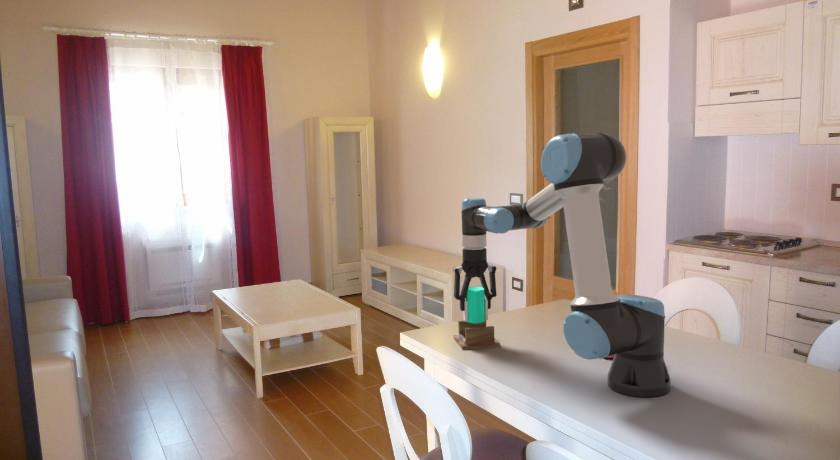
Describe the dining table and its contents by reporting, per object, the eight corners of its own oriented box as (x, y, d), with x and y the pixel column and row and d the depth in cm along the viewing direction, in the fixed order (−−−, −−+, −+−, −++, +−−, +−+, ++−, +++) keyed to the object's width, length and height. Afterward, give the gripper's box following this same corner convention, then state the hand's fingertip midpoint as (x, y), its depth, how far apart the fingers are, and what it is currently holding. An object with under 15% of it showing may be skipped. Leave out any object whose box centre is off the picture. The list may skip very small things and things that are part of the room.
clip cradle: (500, 346, 192) (499, 327, 192) (462, 349, 190) (462, 330, 190) (489, 335, 204) (488, 317, 203) (453, 338, 202) (453, 320, 201)
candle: (463, 322, 195) (462, 284, 194) (470, 317, 200) (469, 281, 199) (480, 324, 192) (480, 286, 191) (487, 319, 198) (487, 282, 196)
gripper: (499, 244, 199) (500, 314, 202) (442, 247, 195) (443, 318, 198) (507, 247, 191) (507, 320, 194) (447, 251, 188) (449, 325, 191)
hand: (475, 319), depth 196 cm, fingers closed on candle, 6 cm apart
